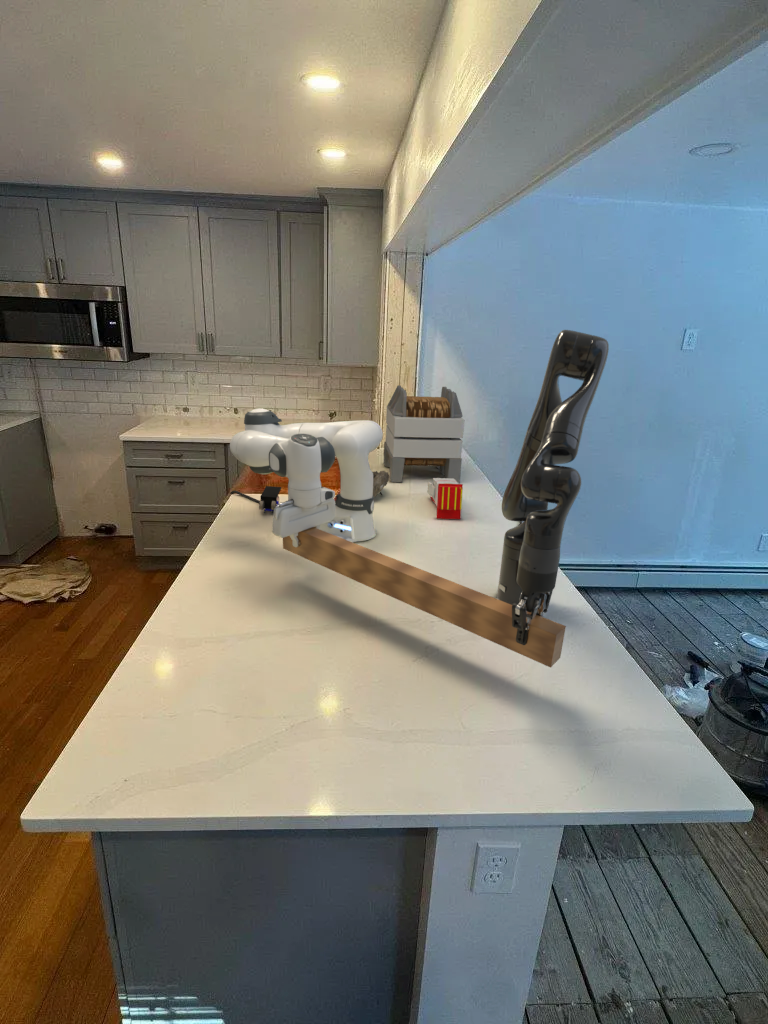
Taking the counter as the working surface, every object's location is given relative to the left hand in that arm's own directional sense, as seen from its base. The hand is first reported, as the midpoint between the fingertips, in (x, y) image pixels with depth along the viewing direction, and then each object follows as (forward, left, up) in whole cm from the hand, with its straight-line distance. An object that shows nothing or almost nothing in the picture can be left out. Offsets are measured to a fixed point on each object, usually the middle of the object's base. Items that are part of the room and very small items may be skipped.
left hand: (304, 543), depth 157 cm
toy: (+25, +81, -13) cm, 86 cm away
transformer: (+5, +127, -13) cm, 128 cm away
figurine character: (-37, +52, -13) cm, 65 cm away
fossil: (-6, +85, -13) cm, 86 cm away
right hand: (+61, -27, -1) cm, 67 cm away
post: (+31, -14, -3) cm, 34 cm away
